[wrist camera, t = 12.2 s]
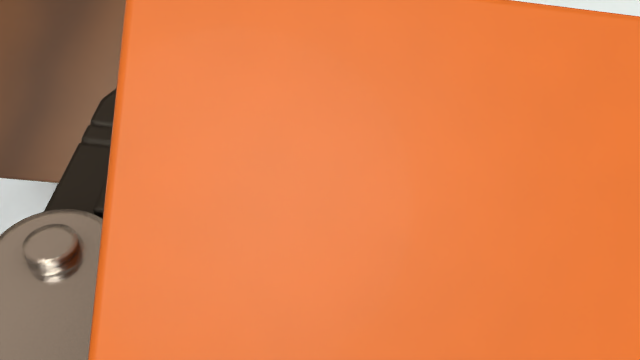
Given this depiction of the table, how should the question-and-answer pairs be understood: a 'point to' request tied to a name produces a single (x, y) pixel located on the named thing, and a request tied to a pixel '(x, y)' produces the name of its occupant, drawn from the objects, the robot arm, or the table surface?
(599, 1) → the table surface
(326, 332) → the box
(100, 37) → the shelf
